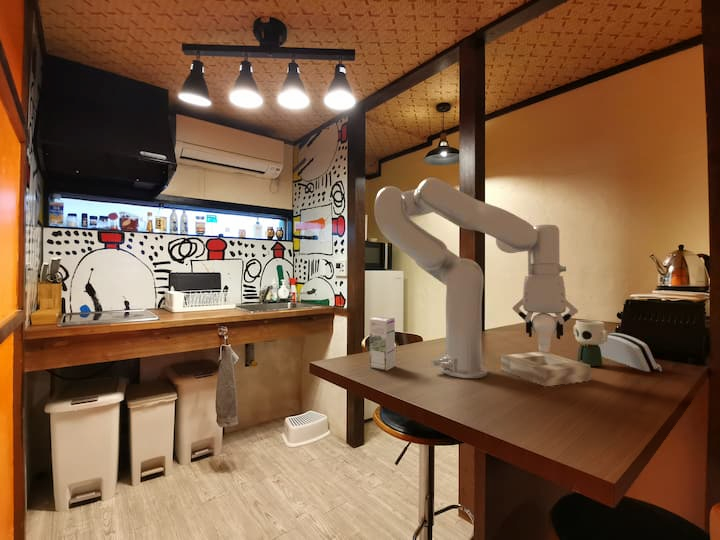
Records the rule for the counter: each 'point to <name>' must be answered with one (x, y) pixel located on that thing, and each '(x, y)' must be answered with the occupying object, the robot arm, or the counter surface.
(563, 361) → the holder
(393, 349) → the syrup box
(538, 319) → the lightbulb
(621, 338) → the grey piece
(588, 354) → the character mug
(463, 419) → the counter surface
